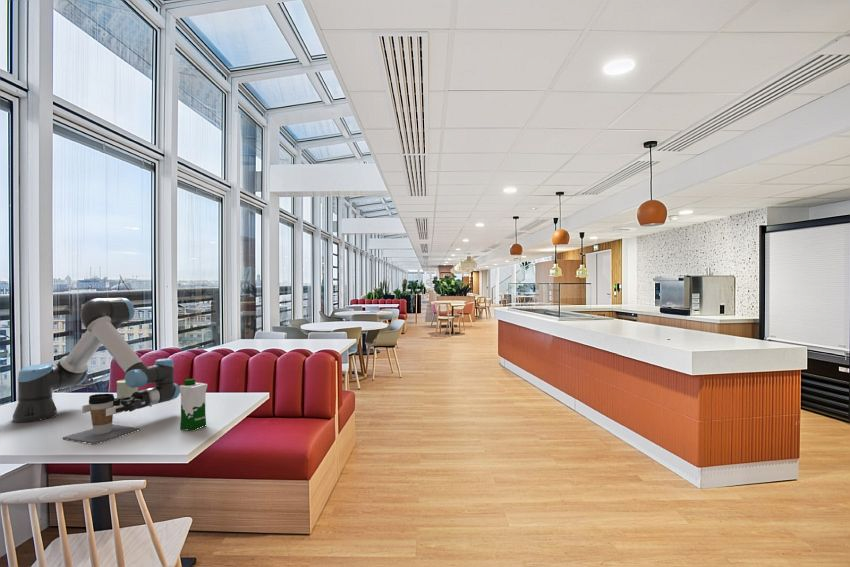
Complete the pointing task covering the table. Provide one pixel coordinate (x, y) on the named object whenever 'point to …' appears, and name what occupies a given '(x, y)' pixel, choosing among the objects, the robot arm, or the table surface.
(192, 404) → the milk carton
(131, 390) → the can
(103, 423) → the coffee cup
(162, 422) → the table surface
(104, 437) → the mat
